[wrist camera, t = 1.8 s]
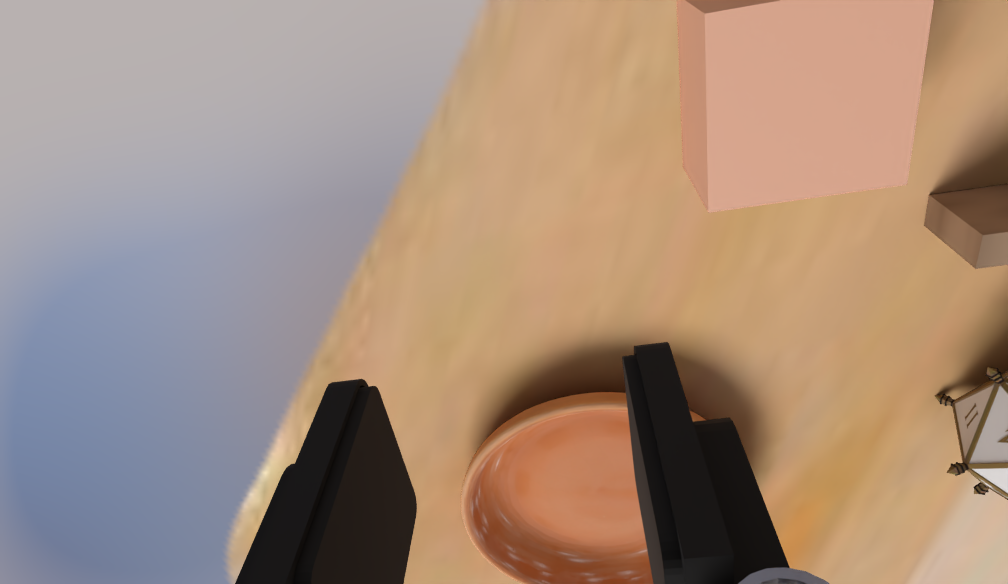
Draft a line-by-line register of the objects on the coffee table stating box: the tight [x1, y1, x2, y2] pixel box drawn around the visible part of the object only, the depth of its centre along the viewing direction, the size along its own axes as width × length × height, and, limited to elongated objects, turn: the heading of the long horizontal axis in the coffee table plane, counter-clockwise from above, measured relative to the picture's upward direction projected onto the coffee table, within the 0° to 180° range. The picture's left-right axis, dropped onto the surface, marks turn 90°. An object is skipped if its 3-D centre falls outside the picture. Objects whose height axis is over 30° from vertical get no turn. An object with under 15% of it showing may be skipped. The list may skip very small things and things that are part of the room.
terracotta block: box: [677, 0, 934, 213], centre depth 24 cm, size 7×7×5 cm
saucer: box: [461, 392, 705, 584], centre depth 38 cm, size 16×16×3 cm
